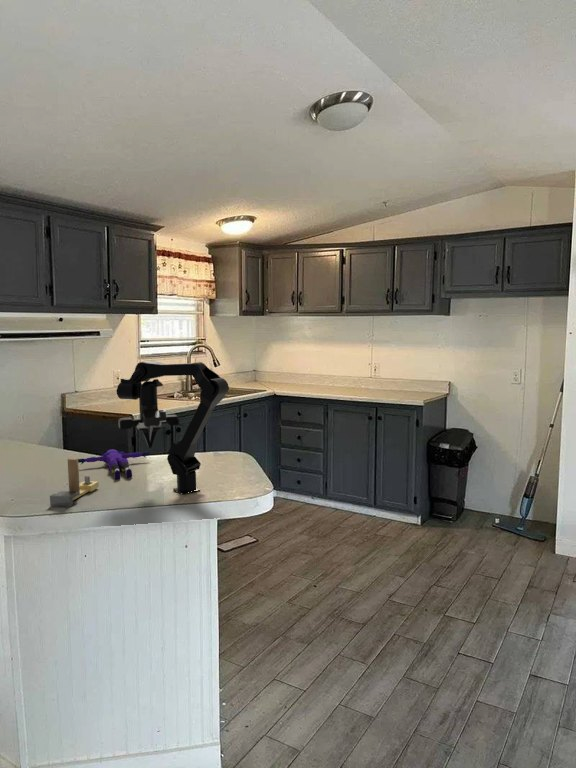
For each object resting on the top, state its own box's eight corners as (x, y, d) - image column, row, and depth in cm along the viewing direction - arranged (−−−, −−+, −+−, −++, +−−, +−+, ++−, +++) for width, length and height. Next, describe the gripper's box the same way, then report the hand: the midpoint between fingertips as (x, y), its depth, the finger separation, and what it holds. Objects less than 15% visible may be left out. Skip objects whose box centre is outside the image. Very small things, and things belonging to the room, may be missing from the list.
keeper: (61, 499, 170) (61, 489, 170) (80, 500, 169) (79, 490, 169) (50, 506, 164) (49, 495, 163) (69, 507, 163) (68, 496, 163)
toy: (162, 476, 199) (146, 457, 226) (162, 461, 198) (146, 444, 225) (81, 486, 187) (74, 465, 214) (81, 470, 187) (74, 451, 214)
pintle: (97, 490, 179) (96, 476, 179) (83, 493, 177) (83, 479, 176) (91, 487, 183) (90, 474, 182) (78, 490, 180) (77, 476, 179)
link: (84, 486, 182) (82, 451, 181) (98, 487, 182) (97, 451, 180) (57, 501, 167) (55, 463, 165) (72, 502, 166) (70, 463, 165)
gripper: (120, 405, 169) (122, 455, 171) (182, 401, 176) (183, 450, 178) (117, 400, 180) (119, 448, 181) (175, 397, 187) (176, 443, 188)
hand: (150, 447), depth 182 cm, fingers closed
